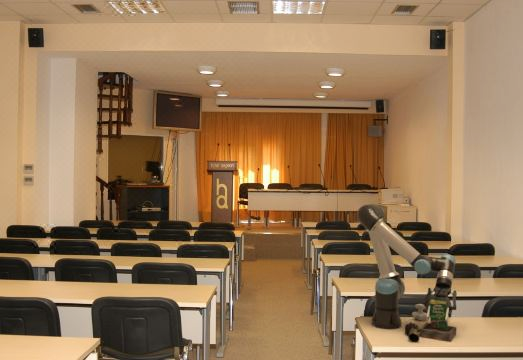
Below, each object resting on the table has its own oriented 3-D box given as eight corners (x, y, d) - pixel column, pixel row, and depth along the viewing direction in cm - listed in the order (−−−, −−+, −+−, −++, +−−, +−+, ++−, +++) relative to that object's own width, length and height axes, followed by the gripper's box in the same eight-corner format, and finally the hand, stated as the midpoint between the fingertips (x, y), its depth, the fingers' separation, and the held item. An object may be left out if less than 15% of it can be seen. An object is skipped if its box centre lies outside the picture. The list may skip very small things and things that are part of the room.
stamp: (422, 317, 279) (422, 302, 279) (430, 320, 273) (431, 305, 273) (409, 319, 275) (409, 304, 275) (418, 322, 269) (418, 306, 269)
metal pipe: (419, 343, 232) (419, 331, 232) (404, 342, 234) (404, 329, 234) (419, 332, 249) (419, 321, 249) (405, 331, 251) (405, 320, 251)
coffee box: (429, 326, 244) (429, 300, 245) (430, 325, 247) (430, 299, 247) (446, 329, 240) (446, 302, 241) (447, 327, 243) (447, 300, 243)
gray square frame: (419, 336, 241) (419, 328, 241) (426, 329, 254) (426, 322, 254) (450, 341, 234) (450, 333, 234) (456, 334, 246) (456, 326, 246)
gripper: (466, 287, 252) (461, 326, 238) (424, 283, 263) (416, 320, 249) (464, 278, 247) (458, 318, 233) (422, 274, 258) (414, 312, 244)
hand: (437, 319), depth 241 cm, fingers closed on coffee box, 8 cm apart
